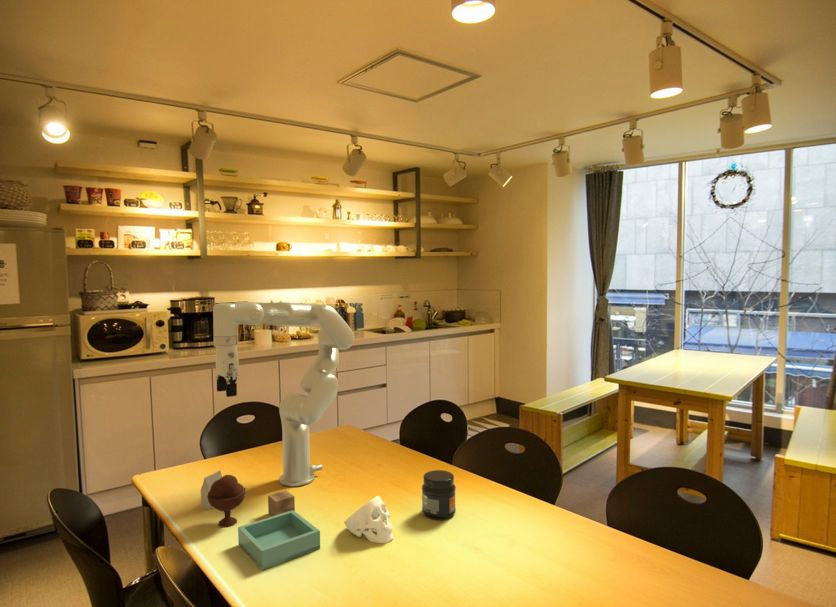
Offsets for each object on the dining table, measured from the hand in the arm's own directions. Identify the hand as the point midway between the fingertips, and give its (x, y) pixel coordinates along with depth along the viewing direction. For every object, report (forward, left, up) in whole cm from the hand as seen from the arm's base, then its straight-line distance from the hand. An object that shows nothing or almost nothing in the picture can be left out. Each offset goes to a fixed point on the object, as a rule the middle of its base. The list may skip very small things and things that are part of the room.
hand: (226, 393), depth 171 cm
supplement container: (-47, +51, -36) cm, 78 cm away
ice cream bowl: (+6, +15, -36) cm, 40 cm away
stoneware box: (0, +38, -36) cm, 52 cm away
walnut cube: (-9, +20, -36) cm, 42 cm away
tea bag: (+5, -1, -36) cm, 37 cm away
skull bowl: (-23, +48, -36) cm, 64 cm away
